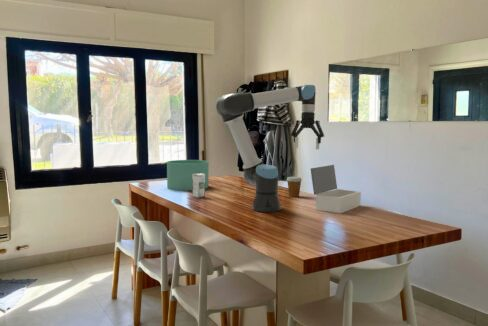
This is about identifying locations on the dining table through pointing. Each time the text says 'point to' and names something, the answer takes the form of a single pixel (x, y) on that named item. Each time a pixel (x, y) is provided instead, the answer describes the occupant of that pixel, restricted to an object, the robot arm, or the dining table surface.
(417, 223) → the dining table surface
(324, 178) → the cover
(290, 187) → the disposable coffee cup
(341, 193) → the box
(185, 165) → the container
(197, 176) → the syrup box
